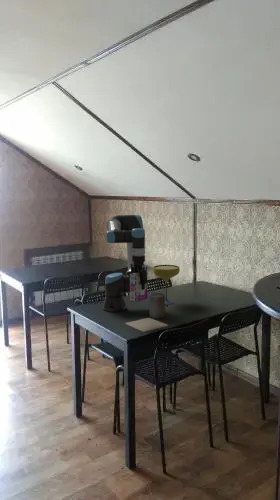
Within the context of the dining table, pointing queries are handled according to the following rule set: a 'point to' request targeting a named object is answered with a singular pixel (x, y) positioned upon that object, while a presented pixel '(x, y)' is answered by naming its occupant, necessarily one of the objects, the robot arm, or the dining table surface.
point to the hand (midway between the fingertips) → (138, 293)
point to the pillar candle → (157, 305)
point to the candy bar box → (136, 288)
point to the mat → (146, 324)
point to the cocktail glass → (166, 275)
